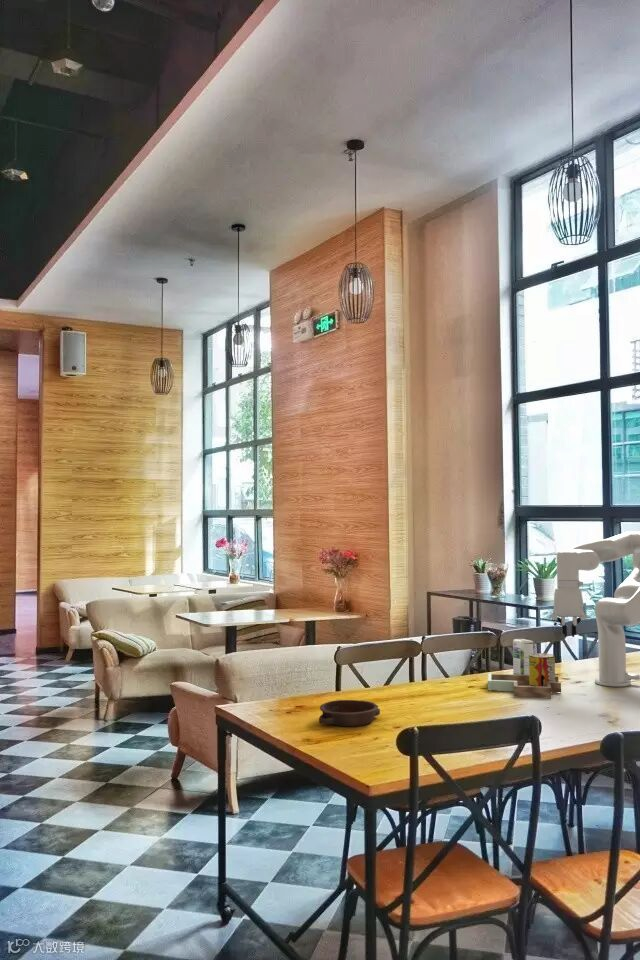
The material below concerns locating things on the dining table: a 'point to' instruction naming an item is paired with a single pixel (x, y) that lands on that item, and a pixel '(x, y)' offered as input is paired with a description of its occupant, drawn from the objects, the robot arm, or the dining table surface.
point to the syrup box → (521, 656)
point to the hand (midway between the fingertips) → (569, 635)
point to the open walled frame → (529, 690)
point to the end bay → (500, 684)
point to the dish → (348, 712)
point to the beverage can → (541, 669)
